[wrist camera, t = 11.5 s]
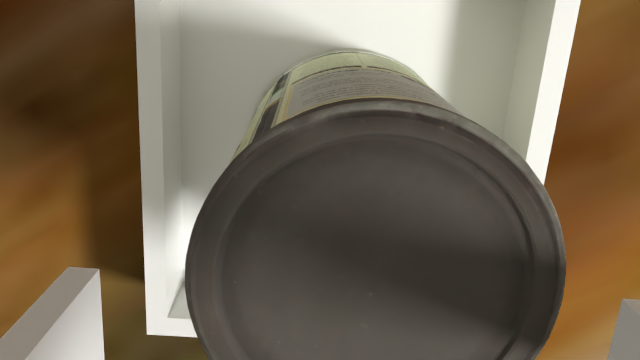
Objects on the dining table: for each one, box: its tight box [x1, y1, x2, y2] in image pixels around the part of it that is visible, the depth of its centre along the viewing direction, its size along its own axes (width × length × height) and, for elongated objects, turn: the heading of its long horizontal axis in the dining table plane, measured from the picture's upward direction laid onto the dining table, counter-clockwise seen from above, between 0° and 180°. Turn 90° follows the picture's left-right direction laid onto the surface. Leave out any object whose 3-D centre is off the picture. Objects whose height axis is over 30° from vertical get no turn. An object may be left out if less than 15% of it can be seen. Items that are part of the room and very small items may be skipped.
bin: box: [135, 0, 581, 337], centre depth 28 cm, size 18×18×4 cm
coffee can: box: [185, 49, 566, 360], centre depth 22 cm, size 10×10×14 cm
